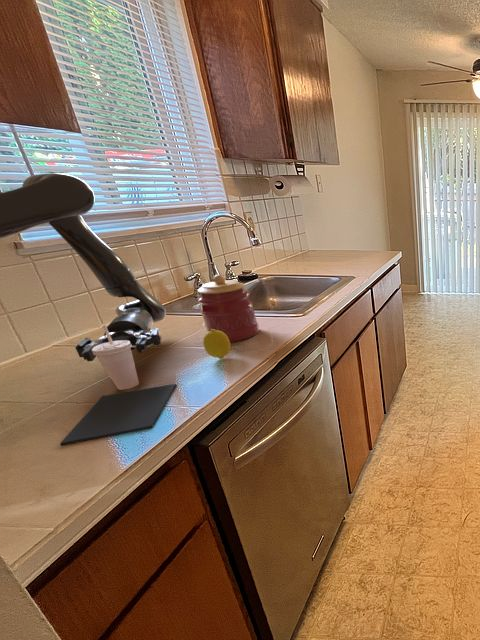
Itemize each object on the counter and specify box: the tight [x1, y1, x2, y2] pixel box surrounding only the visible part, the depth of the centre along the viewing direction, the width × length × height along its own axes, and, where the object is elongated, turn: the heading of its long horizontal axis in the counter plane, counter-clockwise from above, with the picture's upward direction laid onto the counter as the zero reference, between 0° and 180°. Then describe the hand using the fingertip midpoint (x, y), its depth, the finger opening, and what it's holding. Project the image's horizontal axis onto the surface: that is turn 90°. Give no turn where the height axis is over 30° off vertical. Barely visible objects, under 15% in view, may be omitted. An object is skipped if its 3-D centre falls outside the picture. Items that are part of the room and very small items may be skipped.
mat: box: [59, 383, 177, 446], centre depth 78 cm, size 13×18×1 cm
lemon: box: [202, 329, 232, 360], centre depth 99 cm, size 6×6×8 cm
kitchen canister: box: [196, 274, 260, 343], centre depth 113 cm, size 13×13×18 cm
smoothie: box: [92, 324, 140, 391], centre depth 85 cm, size 6×6×14 cm
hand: (113, 352), depth 85 cm, fingers open, 8 cm apart
